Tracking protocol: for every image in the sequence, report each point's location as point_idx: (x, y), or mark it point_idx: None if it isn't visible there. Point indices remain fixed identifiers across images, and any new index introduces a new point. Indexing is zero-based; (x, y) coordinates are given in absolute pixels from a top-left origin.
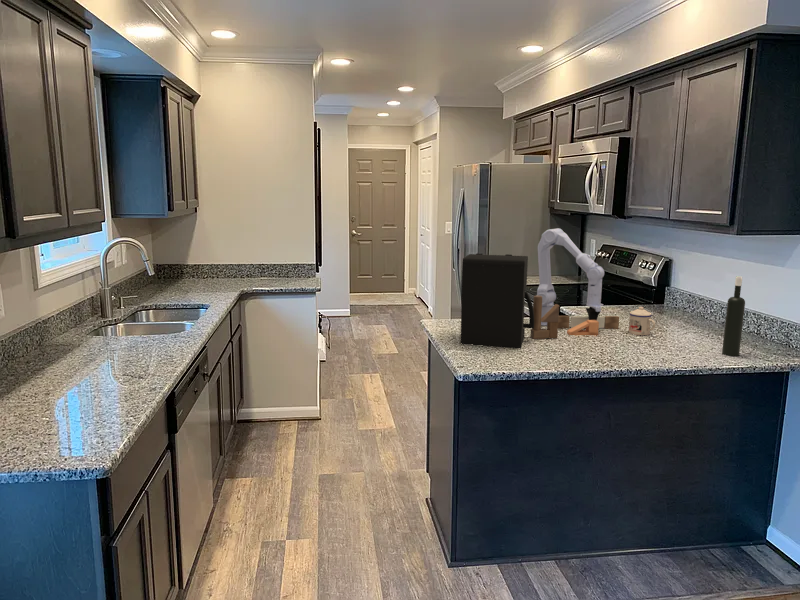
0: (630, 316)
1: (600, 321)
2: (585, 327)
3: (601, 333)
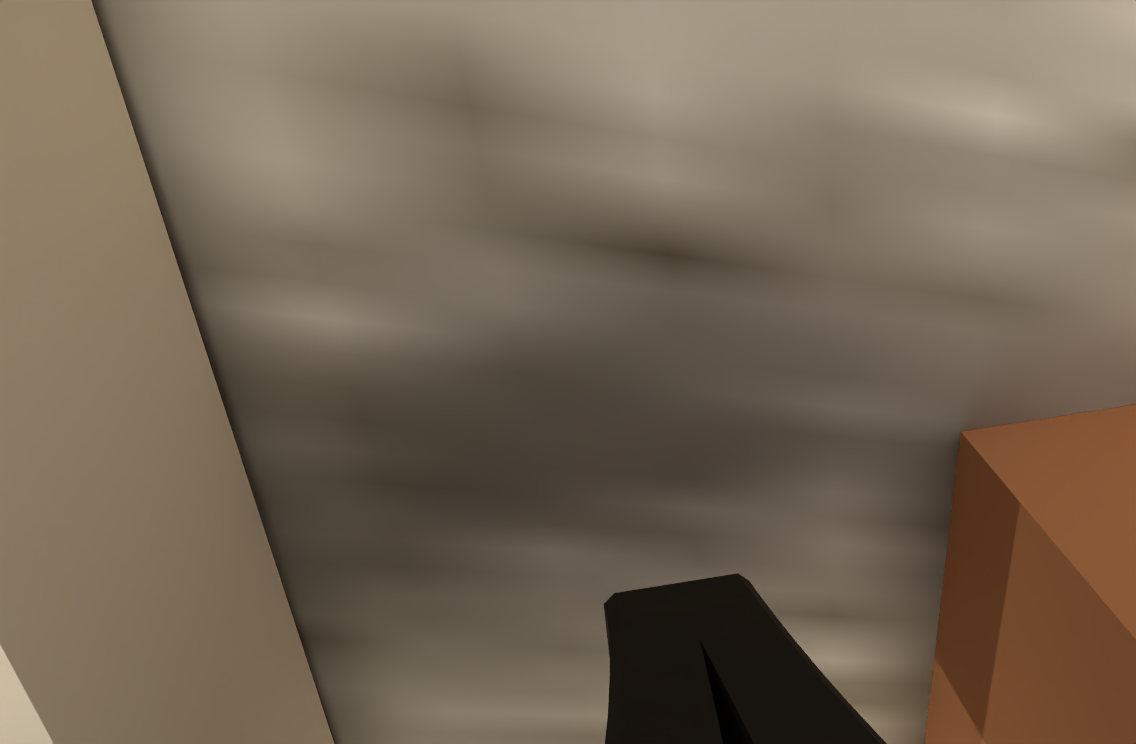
0: None
1: (42, 301)
2: (303, 665)
3: (996, 222)
